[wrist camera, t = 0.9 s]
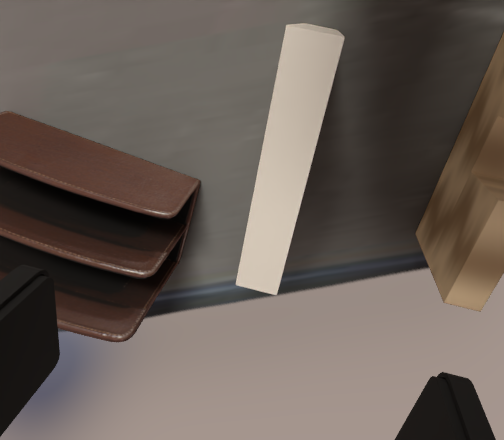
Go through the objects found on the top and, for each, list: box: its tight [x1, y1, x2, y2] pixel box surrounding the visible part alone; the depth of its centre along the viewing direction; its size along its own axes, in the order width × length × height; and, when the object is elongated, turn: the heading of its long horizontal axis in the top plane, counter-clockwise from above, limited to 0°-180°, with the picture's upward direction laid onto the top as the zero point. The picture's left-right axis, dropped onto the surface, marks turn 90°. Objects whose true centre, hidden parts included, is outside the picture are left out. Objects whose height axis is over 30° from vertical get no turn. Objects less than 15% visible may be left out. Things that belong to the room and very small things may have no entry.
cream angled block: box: [236, 23, 345, 295], centre depth 26 cm, size 14×2×15 cm, turn 170°
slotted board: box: [415, 32, 504, 311], centre depth 27 cm, size 20×2×10 cm, turn 170°
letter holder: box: [0, 111, 201, 342], centre depth 33 cm, size 10×20×14 cm, turn 73°
